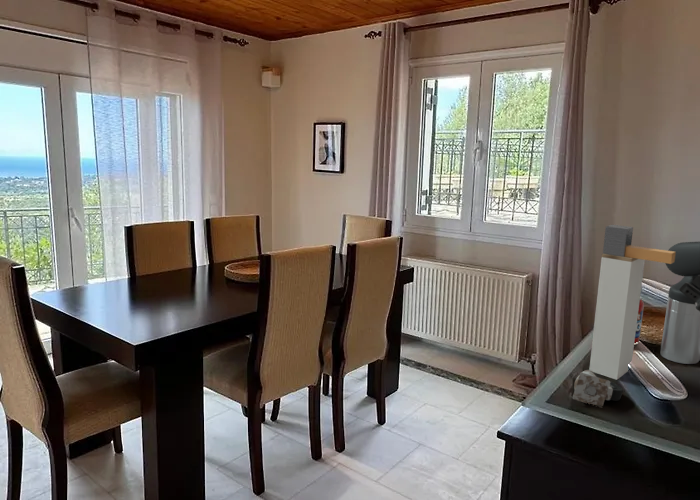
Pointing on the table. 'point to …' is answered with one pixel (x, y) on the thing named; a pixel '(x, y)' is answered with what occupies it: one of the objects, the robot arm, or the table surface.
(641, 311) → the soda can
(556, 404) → the table surface
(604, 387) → the grey speckled two-tone part
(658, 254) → the grey hammer
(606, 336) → the plinth
